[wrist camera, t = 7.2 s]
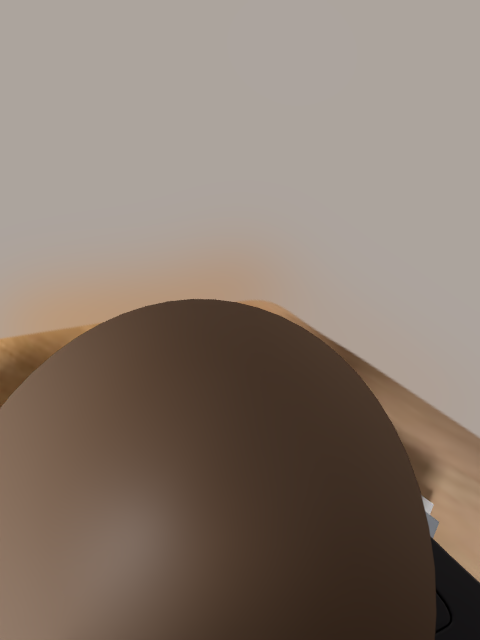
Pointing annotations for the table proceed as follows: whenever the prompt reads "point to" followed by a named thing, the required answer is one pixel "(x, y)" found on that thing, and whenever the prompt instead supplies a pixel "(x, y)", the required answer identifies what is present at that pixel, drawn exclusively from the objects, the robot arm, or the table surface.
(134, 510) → the walnut peg
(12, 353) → the table surface
